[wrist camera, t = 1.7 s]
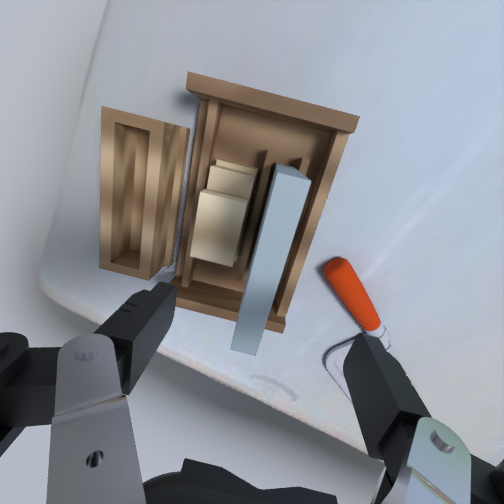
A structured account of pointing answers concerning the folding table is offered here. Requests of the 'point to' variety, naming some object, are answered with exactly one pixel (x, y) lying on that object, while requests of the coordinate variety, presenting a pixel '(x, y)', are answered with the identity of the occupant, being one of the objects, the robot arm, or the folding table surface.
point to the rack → (256, 184)
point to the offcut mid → (231, 183)
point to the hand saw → (361, 309)
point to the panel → (269, 255)
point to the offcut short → (218, 226)
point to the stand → (139, 192)
